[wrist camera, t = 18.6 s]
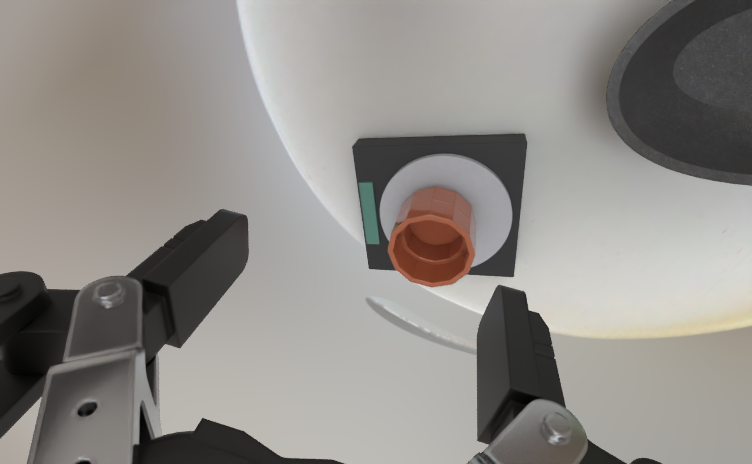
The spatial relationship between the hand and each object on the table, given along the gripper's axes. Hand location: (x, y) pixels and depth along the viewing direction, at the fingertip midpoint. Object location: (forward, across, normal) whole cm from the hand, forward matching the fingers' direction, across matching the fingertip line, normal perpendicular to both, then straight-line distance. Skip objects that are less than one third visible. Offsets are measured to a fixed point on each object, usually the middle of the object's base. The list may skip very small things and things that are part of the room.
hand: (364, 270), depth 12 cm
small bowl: (+18, -3, +8) cm, 20 cm away
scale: (+21, -3, +8) cm, 23 cm away
